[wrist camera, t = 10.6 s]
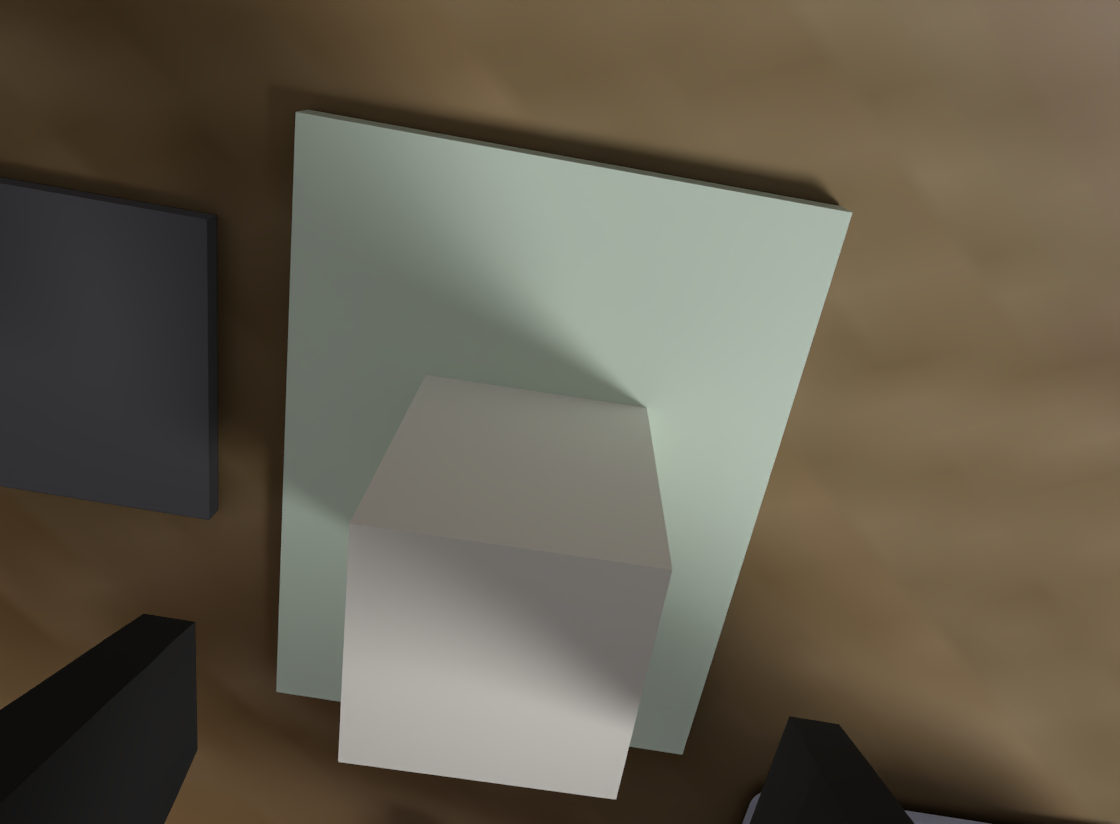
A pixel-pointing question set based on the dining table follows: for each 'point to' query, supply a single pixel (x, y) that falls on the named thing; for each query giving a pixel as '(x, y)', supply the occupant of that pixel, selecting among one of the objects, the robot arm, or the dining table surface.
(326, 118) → the pad
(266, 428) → the dining table surface
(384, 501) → the cream block
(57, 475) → the trap tile
